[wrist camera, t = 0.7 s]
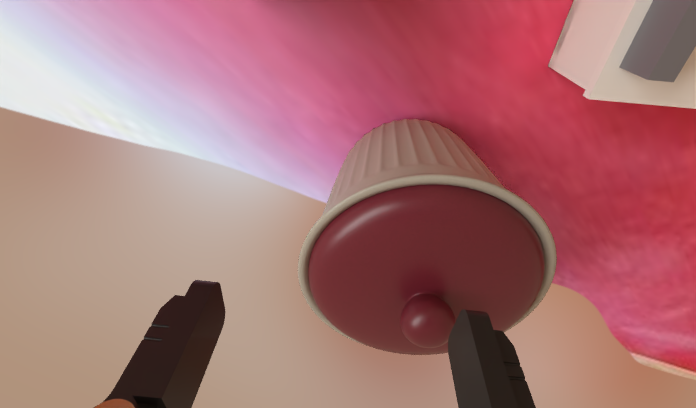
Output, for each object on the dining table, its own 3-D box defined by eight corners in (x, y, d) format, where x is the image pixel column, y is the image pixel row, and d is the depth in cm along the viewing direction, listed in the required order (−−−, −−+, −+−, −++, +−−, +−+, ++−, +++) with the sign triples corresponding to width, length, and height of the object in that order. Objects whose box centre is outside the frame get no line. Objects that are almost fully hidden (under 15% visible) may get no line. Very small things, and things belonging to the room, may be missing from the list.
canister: (521, 110, 34) (673, 268, 17) (451, 243, 44) (501, 425, 27) (340, 68, 33) (305, 193, 15) (312, 216, 43) (273, 388, 26)
